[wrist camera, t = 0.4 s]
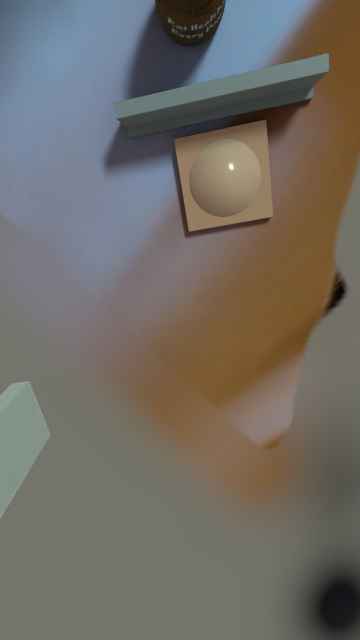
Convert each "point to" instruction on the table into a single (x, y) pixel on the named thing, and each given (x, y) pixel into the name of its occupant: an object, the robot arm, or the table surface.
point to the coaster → (225, 175)
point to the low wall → (222, 97)
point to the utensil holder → (190, 19)
